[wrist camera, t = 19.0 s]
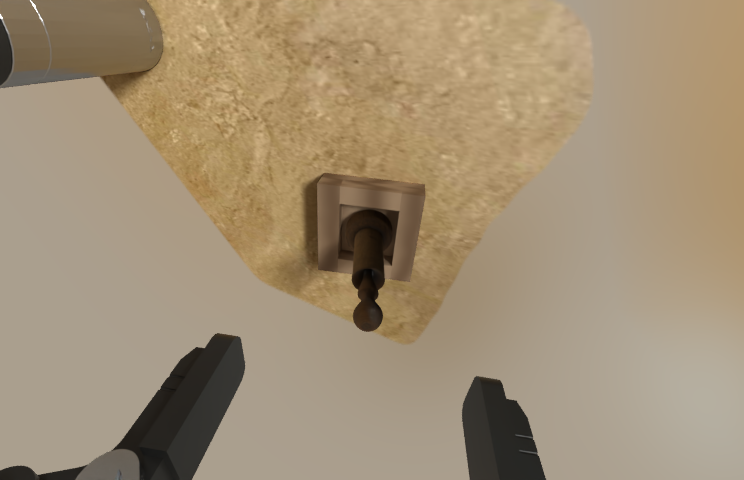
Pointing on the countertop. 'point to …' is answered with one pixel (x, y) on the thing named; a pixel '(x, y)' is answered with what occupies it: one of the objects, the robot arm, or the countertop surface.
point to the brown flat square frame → (357, 194)
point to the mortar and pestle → (368, 263)
